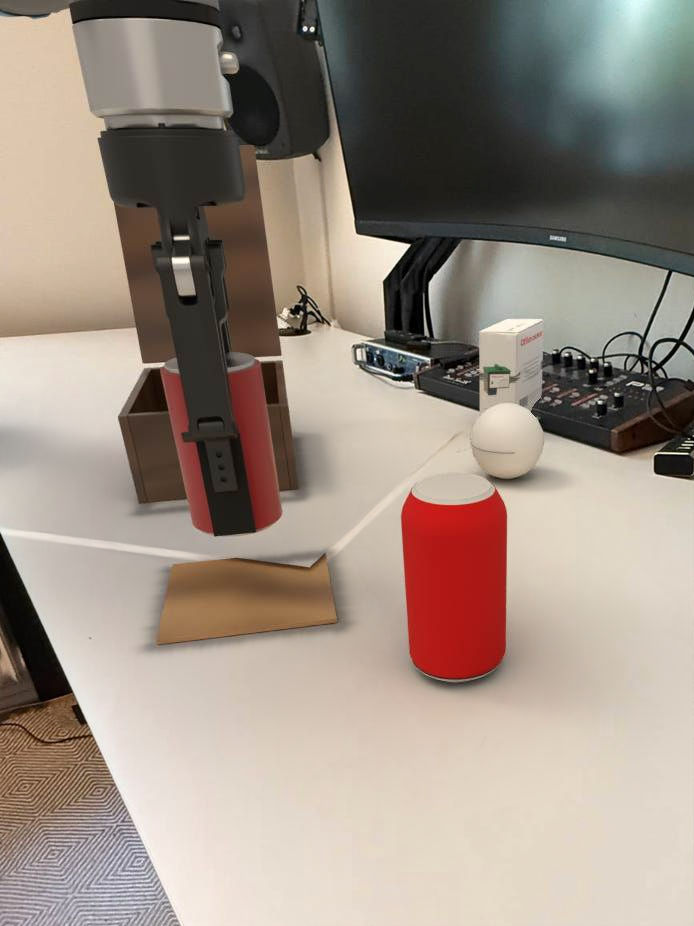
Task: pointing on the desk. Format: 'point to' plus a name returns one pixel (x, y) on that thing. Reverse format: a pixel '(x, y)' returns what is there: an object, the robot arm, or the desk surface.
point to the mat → (244, 598)
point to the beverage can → (455, 576)
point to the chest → (155, 440)
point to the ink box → (511, 363)
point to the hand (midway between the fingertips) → (236, 513)
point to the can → (253, 436)
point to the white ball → (507, 440)
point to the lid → (243, 274)
